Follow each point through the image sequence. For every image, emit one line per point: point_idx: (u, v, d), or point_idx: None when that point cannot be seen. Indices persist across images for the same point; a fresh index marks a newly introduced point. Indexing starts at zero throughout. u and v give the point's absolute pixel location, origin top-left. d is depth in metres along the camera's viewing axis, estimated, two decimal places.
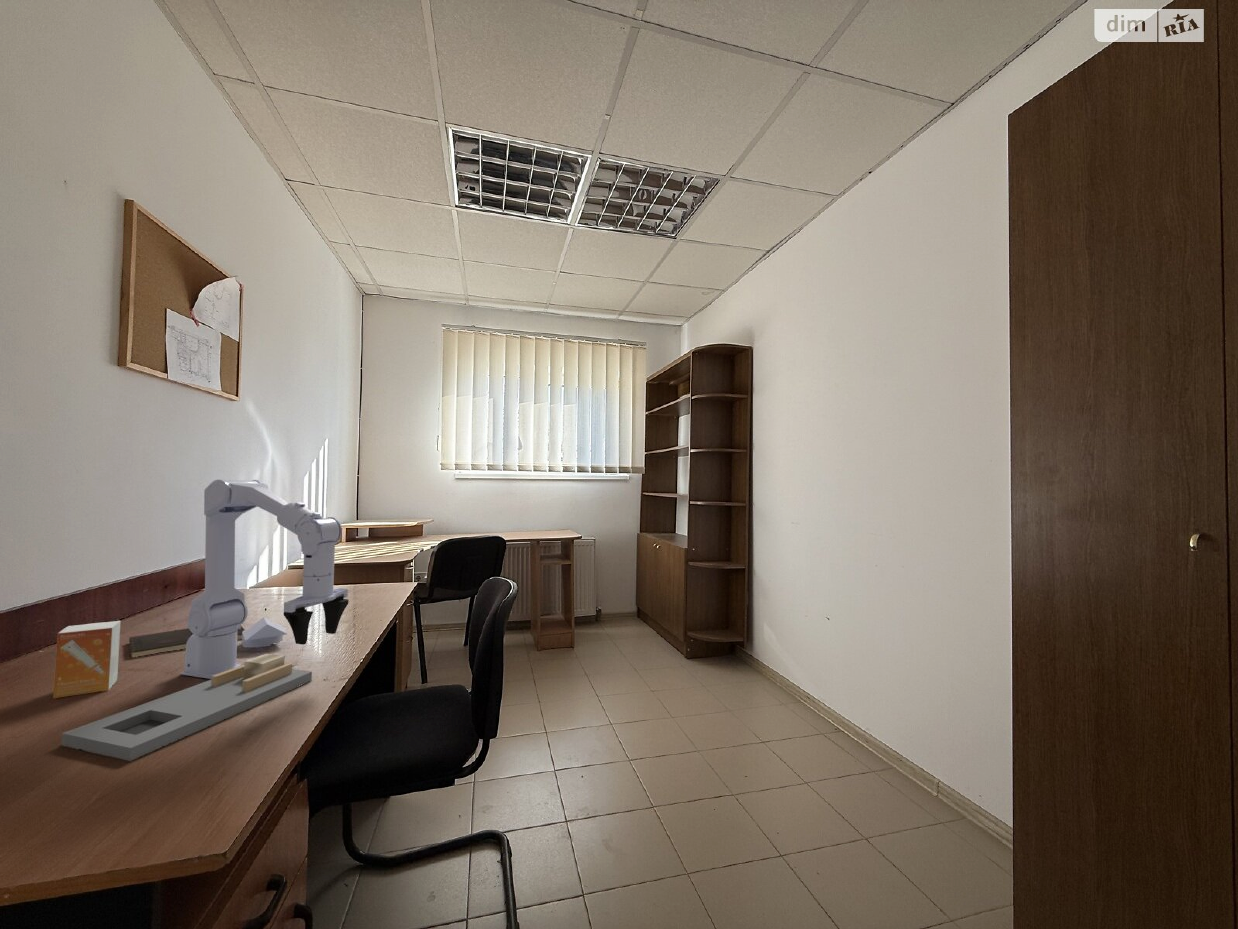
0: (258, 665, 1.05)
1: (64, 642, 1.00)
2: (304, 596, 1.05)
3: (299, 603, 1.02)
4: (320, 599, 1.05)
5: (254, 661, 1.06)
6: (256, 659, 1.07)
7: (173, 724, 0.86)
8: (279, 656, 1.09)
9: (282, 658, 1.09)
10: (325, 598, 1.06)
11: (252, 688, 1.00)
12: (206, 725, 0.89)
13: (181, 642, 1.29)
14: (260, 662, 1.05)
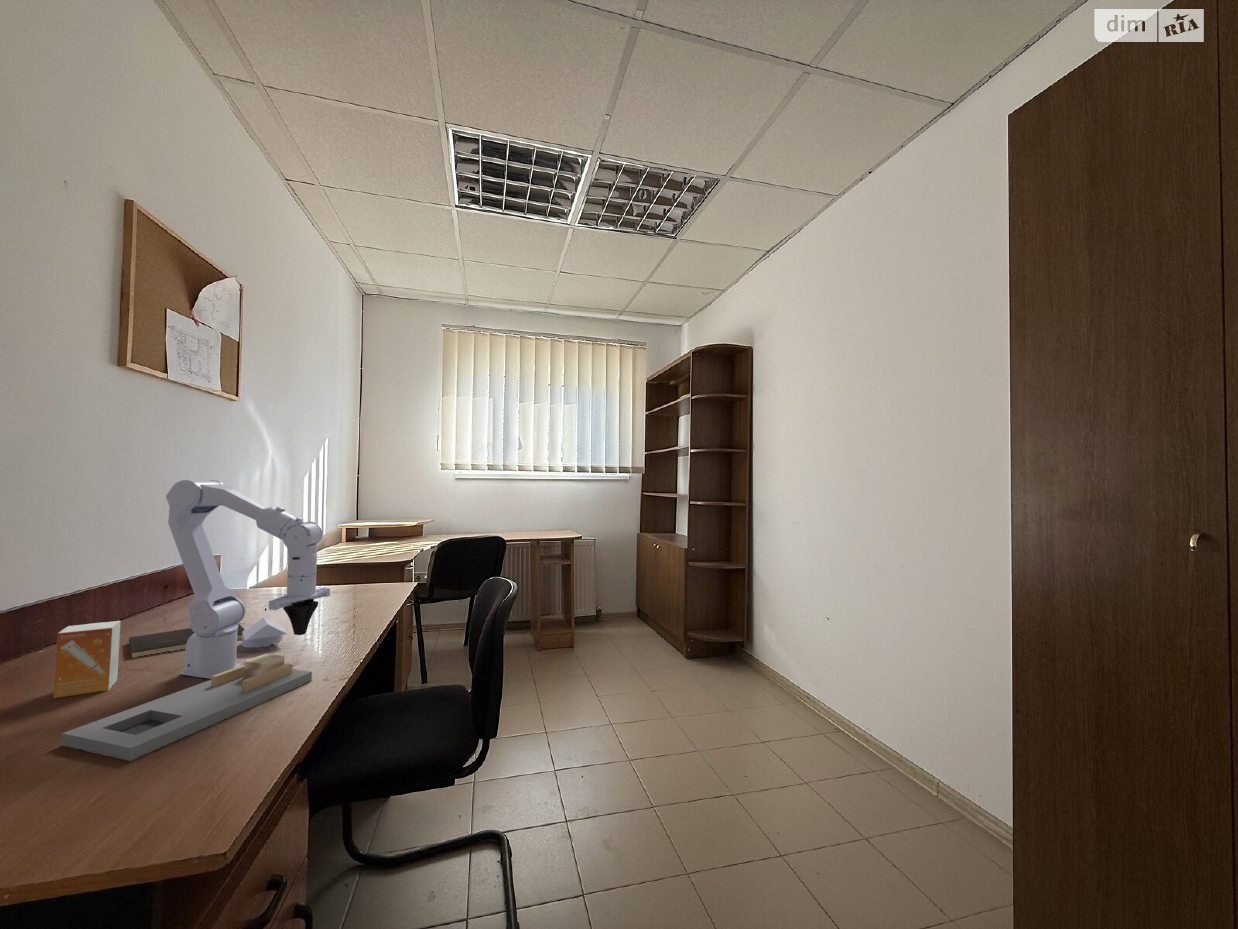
0: (258, 665, 1.05)
1: (64, 642, 1.00)
2: (288, 595, 1.14)
3: (283, 601, 1.11)
4: (303, 598, 1.14)
5: (254, 661, 1.06)
6: (256, 659, 1.07)
7: (173, 724, 0.86)
8: (279, 656, 1.09)
9: (282, 658, 1.09)
10: (308, 597, 1.14)
11: (252, 688, 1.00)
12: (206, 725, 0.89)
13: (181, 642, 1.29)
14: (260, 662, 1.05)
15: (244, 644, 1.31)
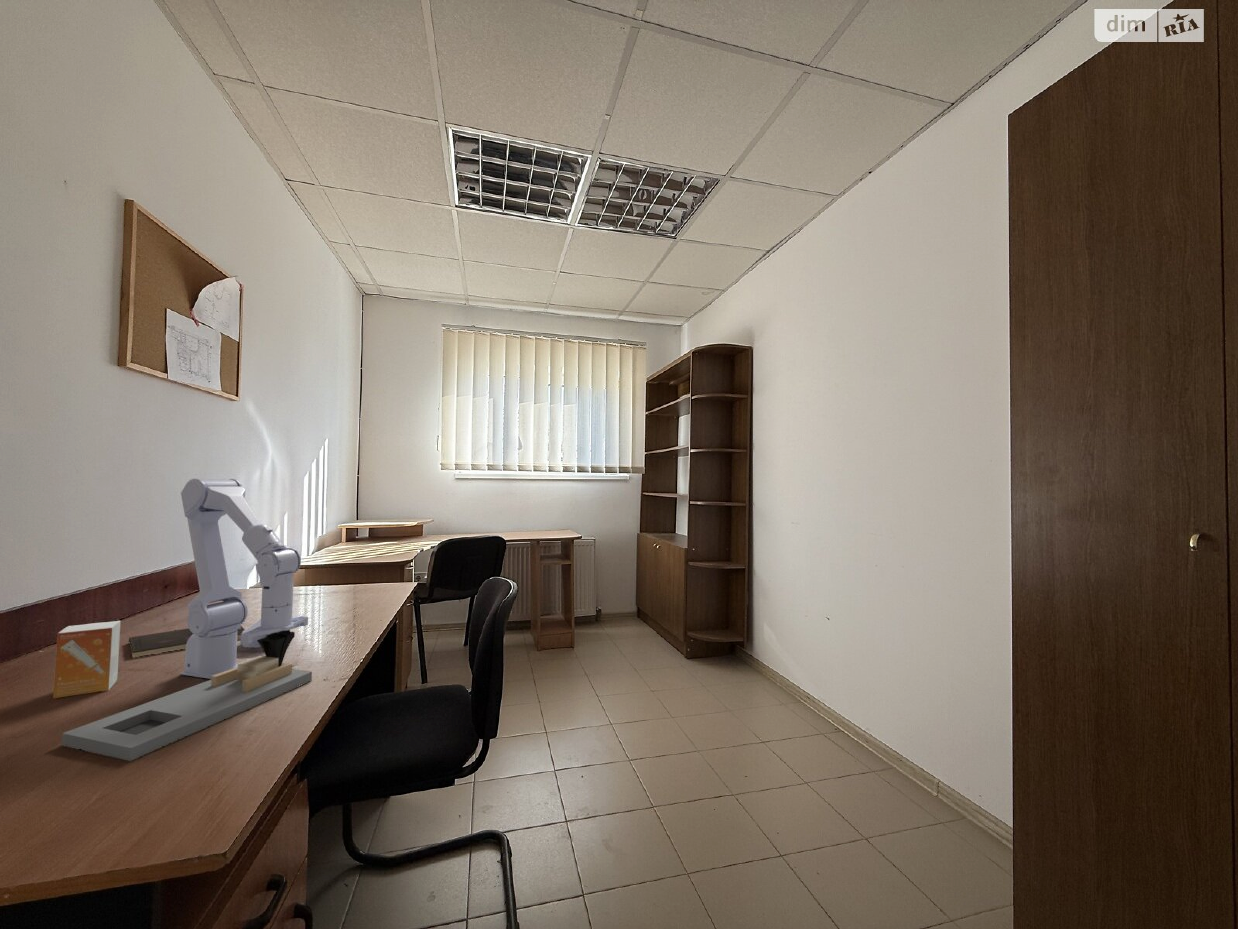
0: (252, 667, 1.03)
1: (64, 642, 1.00)
2: (262, 626, 1.08)
3: (256, 634, 1.05)
4: (278, 629, 1.08)
5: (247, 663, 1.04)
6: (250, 661, 1.06)
7: (173, 724, 0.86)
8: (273, 658, 1.08)
9: (276, 660, 1.08)
10: (283, 628, 1.08)
11: (252, 688, 1.00)
12: (206, 725, 0.89)
13: (181, 642, 1.29)
14: (254, 665, 1.04)
15: (244, 644, 1.31)
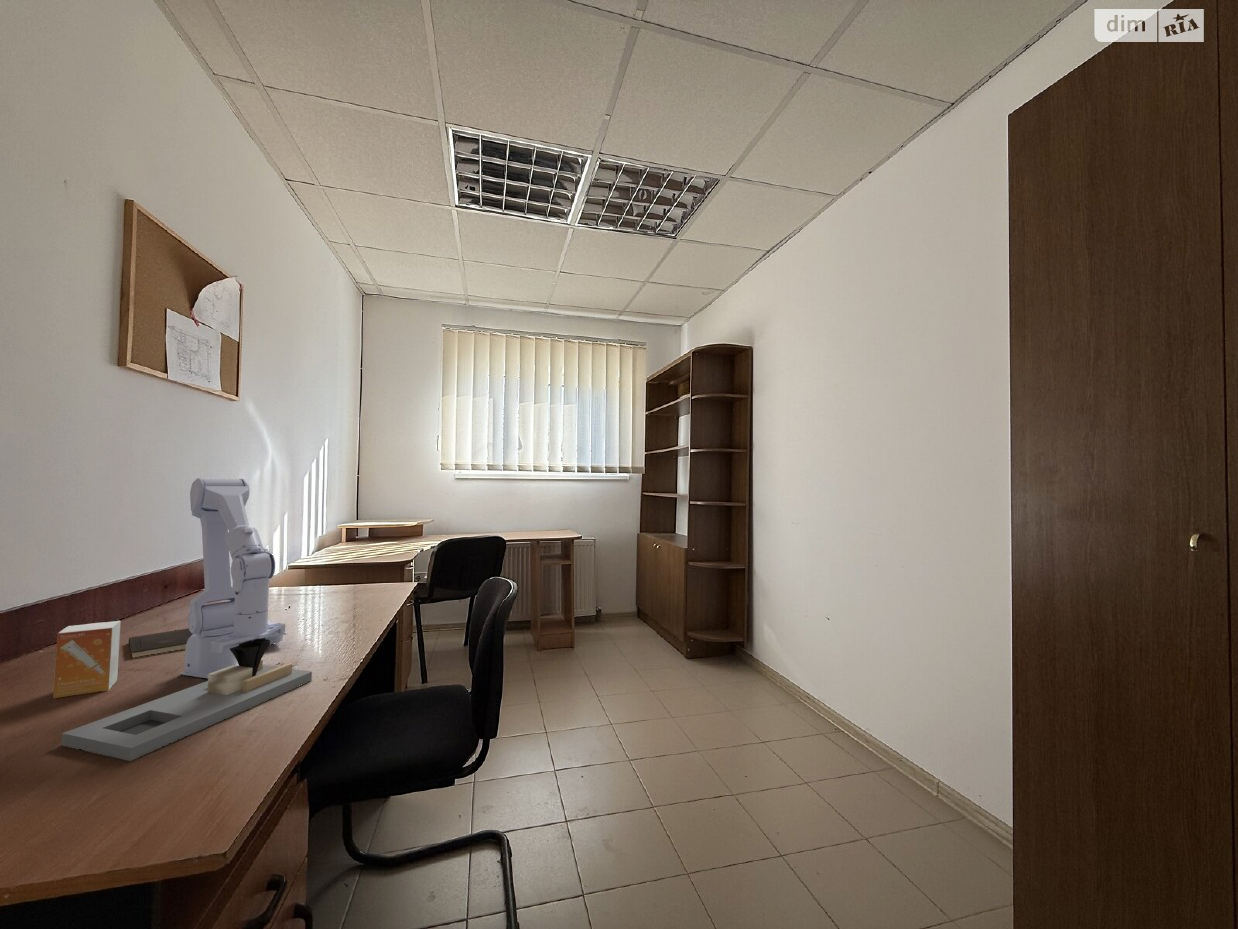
0: (223, 678, 0.98)
1: (64, 642, 1.00)
2: (235, 634, 1.02)
3: (227, 643, 0.99)
4: (251, 637, 1.02)
5: (219, 674, 0.99)
6: (222, 671, 1.00)
7: (173, 724, 0.86)
8: (246, 668, 1.02)
9: (250, 670, 1.02)
10: (257, 636, 1.03)
11: (252, 688, 1.00)
12: (206, 725, 0.89)
13: (181, 642, 1.29)
14: (225, 675, 0.98)
15: None
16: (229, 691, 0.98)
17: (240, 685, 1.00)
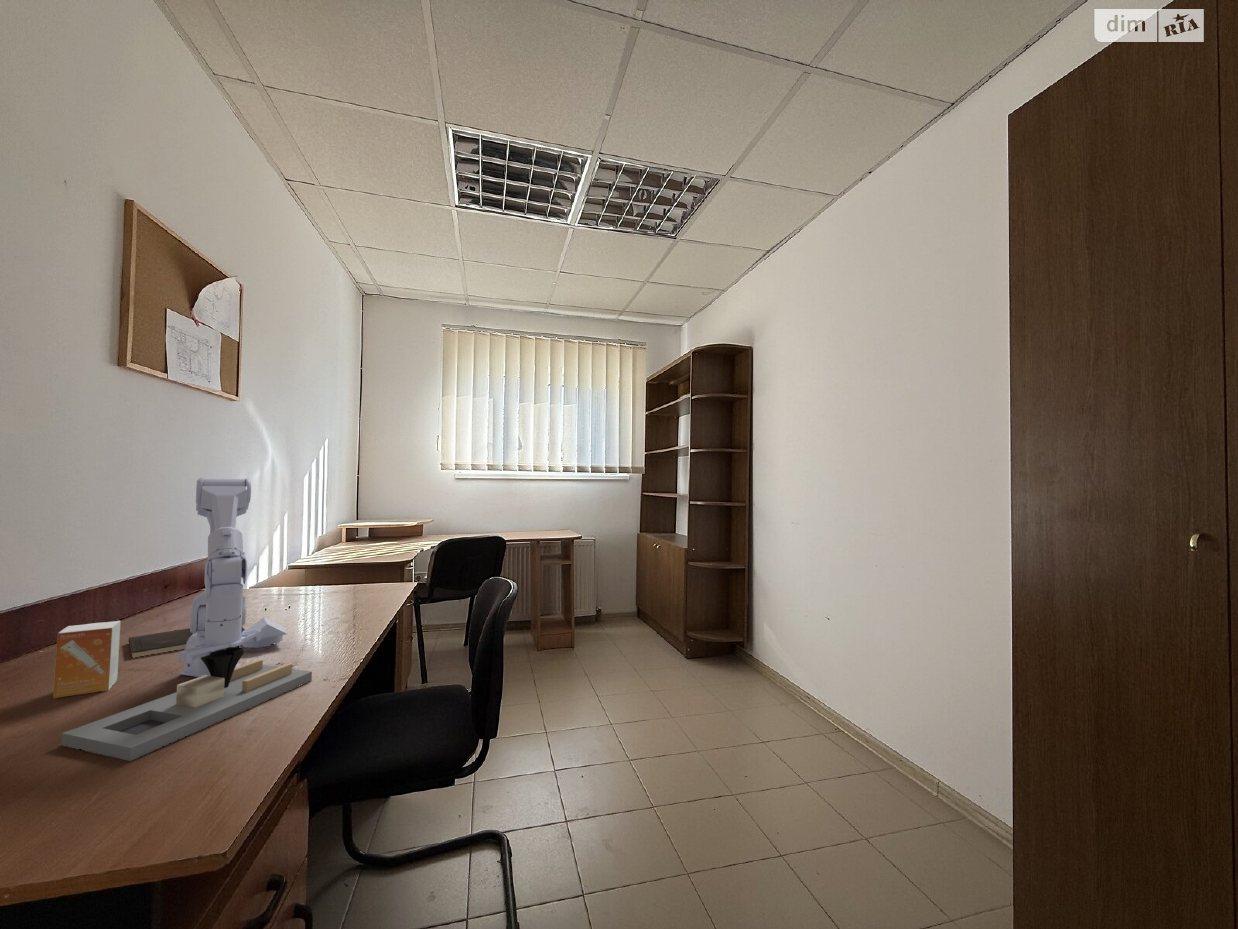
0: (192, 689, 0.92)
1: (64, 642, 1.00)
2: (206, 643, 0.97)
3: (197, 652, 0.94)
4: (223, 646, 0.97)
5: (188, 685, 0.93)
6: (192, 682, 0.95)
7: (173, 724, 0.86)
8: (218, 678, 0.97)
9: (222, 681, 0.96)
10: (229, 645, 0.97)
11: (252, 688, 1.00)
12: (206, 725, 0.89)
13: (181, 642, 1.29)
14: (195, 686, 0.93)
15: (244, 644, 1.31)
16: (198, 704, 0.92)
17: (211, 697, 0.95)
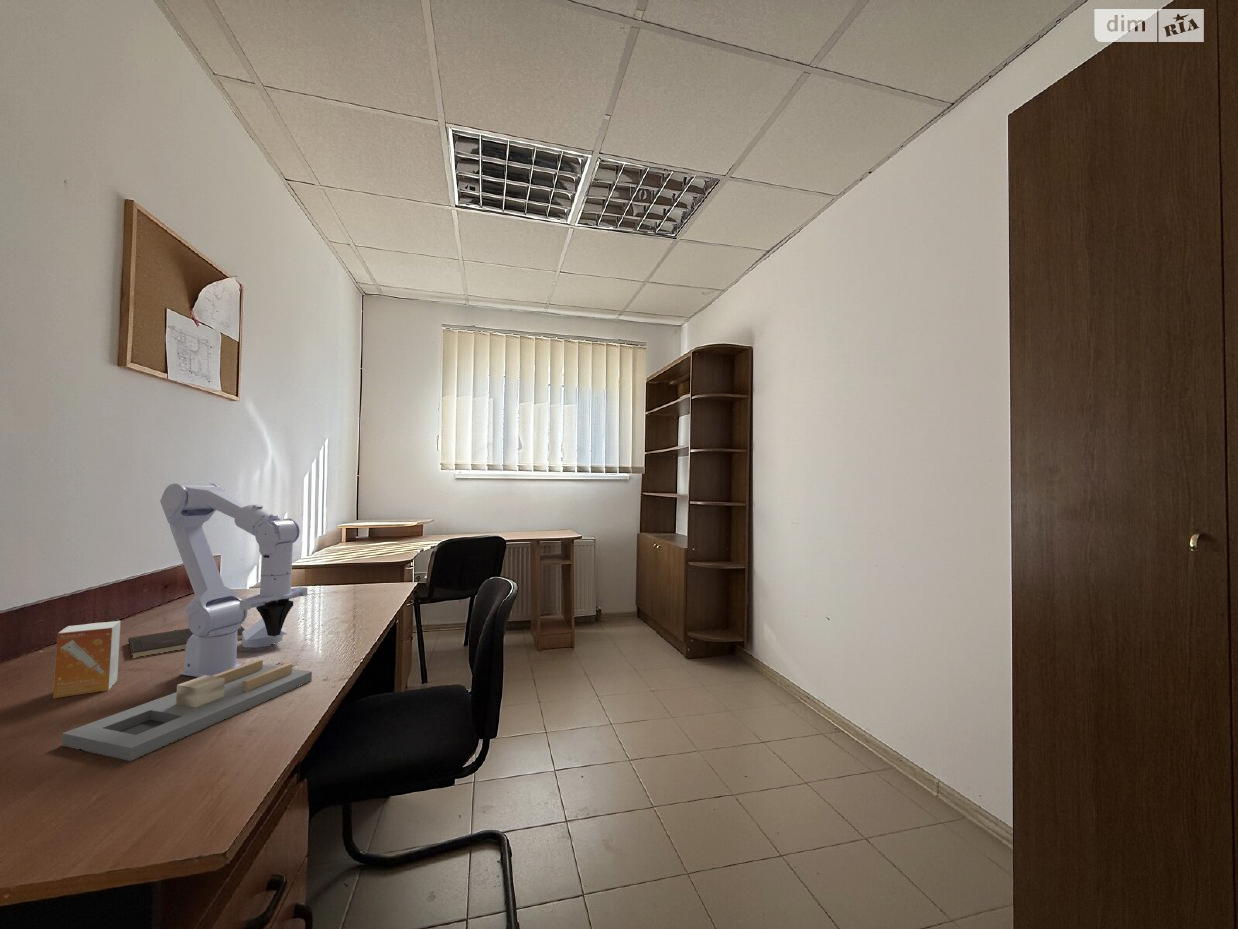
0: (192, 689, 0.92)
1: (64, 642, 1.00)
2: (261, 594, 1.09)
3: (254, 601, 1.06)
4: (276, 597, 1.09)
5: (188, 685, 0.93)
6: (192, 682, 0.95)
7: (173, 724, 0.86)
8: (218, 678, 0.97)
9: (222, 681, 0.96)
10: (281, 596, 1.10)
11: (252, 688, 1.00)
12: (206, 725, 0.89)
13: (182, 642, 1.29)
14: (195, 686, 0.93)
15: (244, 644, 1.31)
16: (198, 704, 0.92)
17: (211, 697, 0.95)
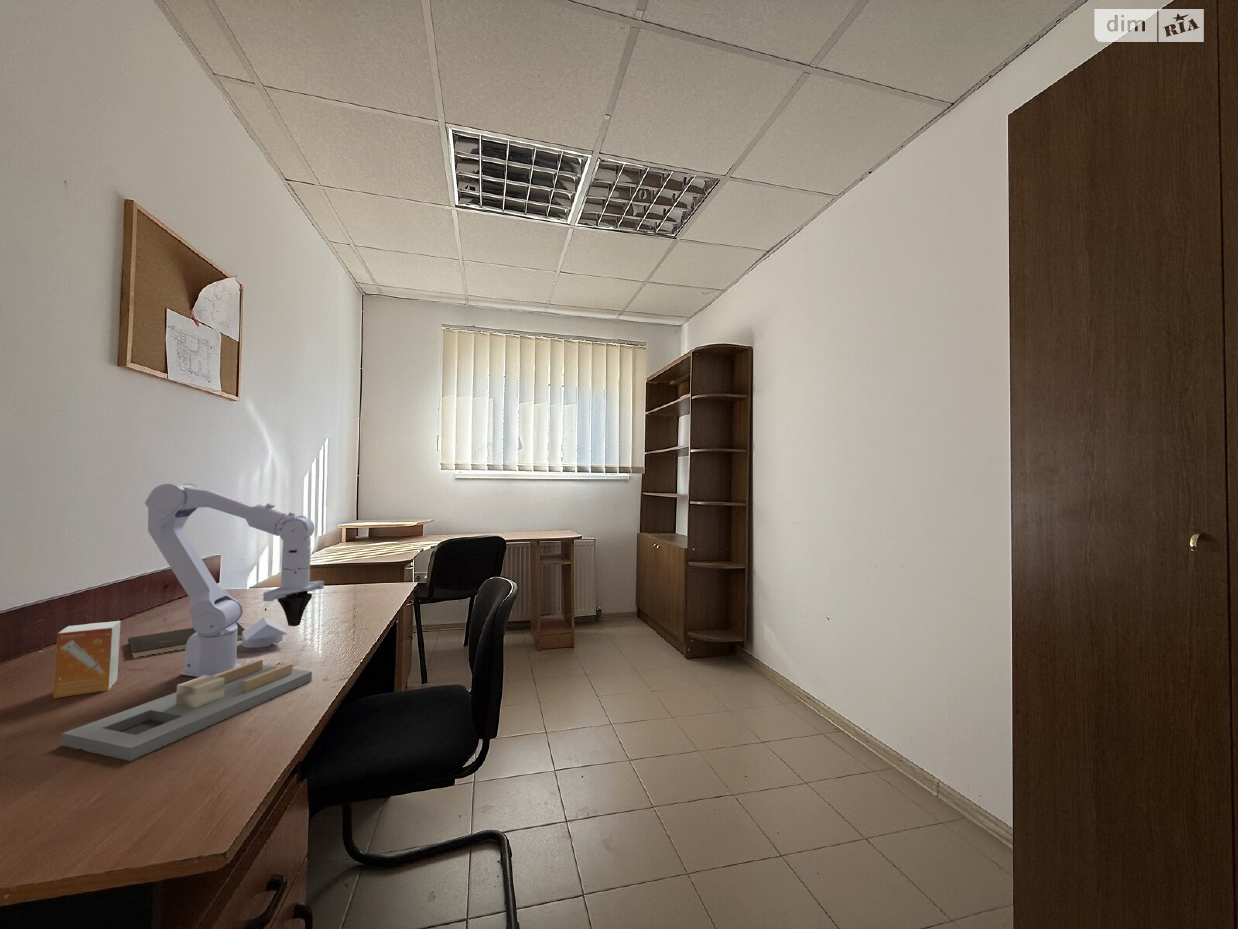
0: (192, 689, 0.92)
1: (64, 642, 1.00)
2: (282, 587, 1.17)
3: (277, 593, 1.14)
4: (297, 590, 1.17)
5: (188, 685, 0.93)
6: (192, 682, 0.95)
7: (173, 724, 0.86)
8: (218, 678, 0.97)
9: (222, 681, 0.96)
10: (301, 589, 1.17)
11: (252, 688, 1.00)
12: (206, 725, 0.89)
13: (182, 642, 1.29)
14: (195, 686, 0.93)
15: (244, 644, 1.31)
16: (198, 704, 0.92)
17: (211, 697, 0.95)
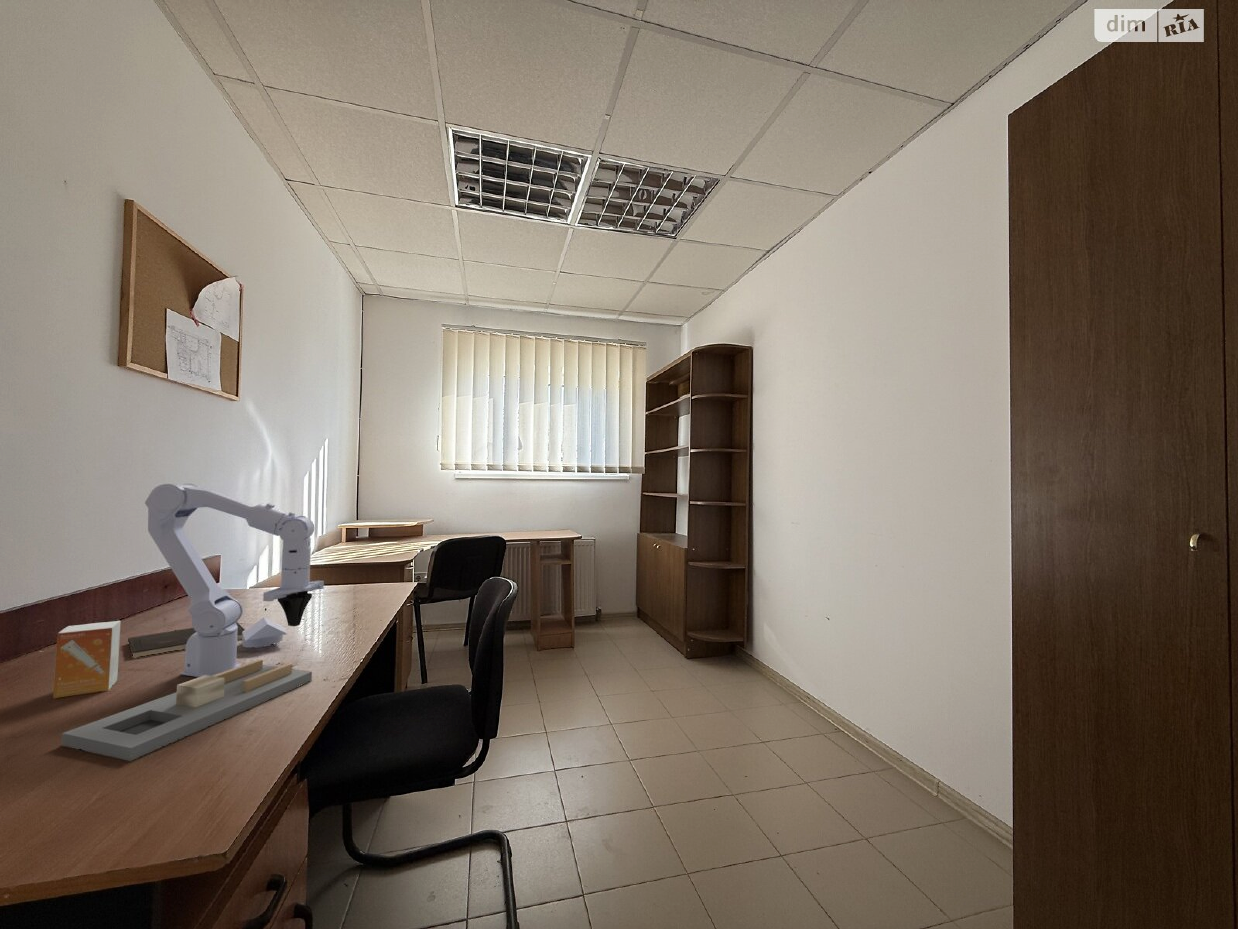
0: (192, 689, 0.92)
1: (64, 642, 1.00)
2: (282, 587, 1.17)
3: (277, 593, 1.14)
4: (297, 590, 1.17)
5: (188, 685, 0.93)
6: (192, 682, 0.95)
7: (173, 724, 0.86)
8: (218, 678, 0.97)
9: (222, 681, 0.96)
10: (301, 589, 1.17)
11: (252, 688, 1.00)
12: (206, 725, 0.89)
13: (182, 642, 1.29)
14: (195, 686, 0.93)
15: (244, 644, 1.31)
16: (198, 704, 0.92)
17: (211, 697, 0.95)
